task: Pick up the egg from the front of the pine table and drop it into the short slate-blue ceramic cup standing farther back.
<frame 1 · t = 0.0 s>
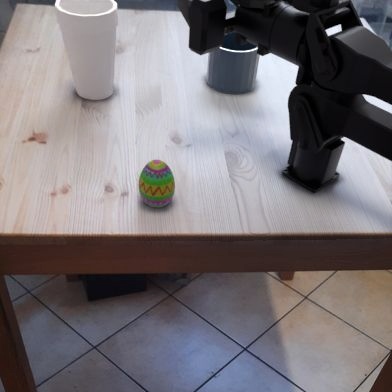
cup: (230, 82, 90), on the table
foam cup: (95, 92, 85), on the table
egg: (156, 201, 68), on the table
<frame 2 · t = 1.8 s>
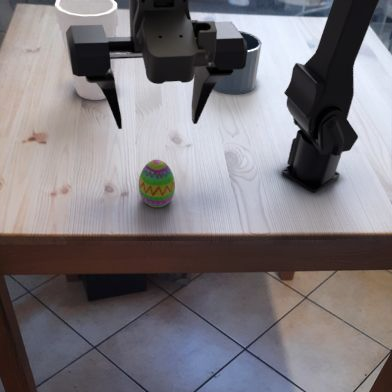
hand: (157, 124, 59), 11 cm above the table, tool pointing down, fingers open, 9 cm apart
nothing on the table moved.
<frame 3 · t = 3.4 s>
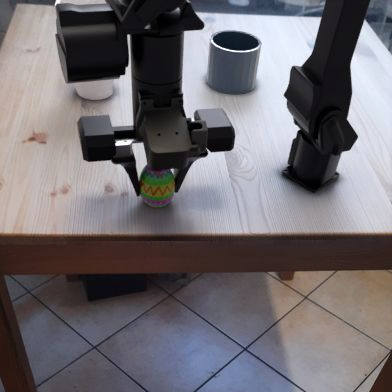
hand: (156, 192, 67), 1 cm above the table, tool pointing down, fingers closed on egg, 5 cm apart
egg: (156, 201, 68), on the table, touching gripper
everything else where it was.
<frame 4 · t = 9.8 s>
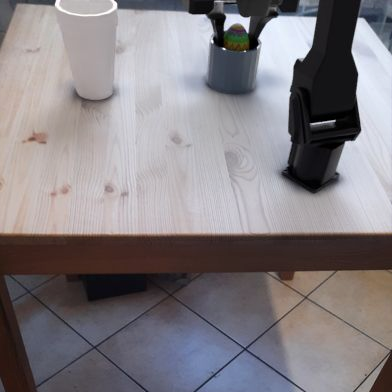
hand: (234, 54, 86), 5 cm above the table, tool pointing down, fingers closed on egg, 5 cm apart
egg: (233, 62, 87), point 3 cm above the table, touching gripper
everything else where it was.
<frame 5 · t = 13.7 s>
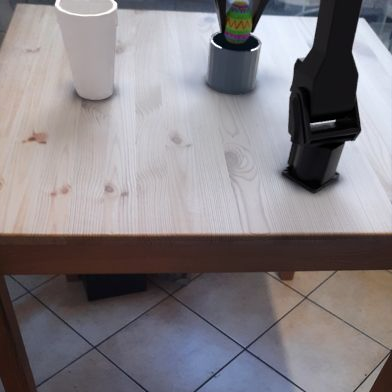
hand: (236, 32, 83), 8 cm above the table, tool pointing down, fingers closed on egg, 5 cm apart
egg: (235, 41, 85), point 7 cm above the table, touching gripper
everything else where it was.
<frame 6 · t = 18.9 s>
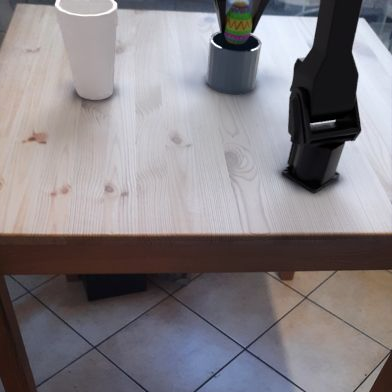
hand: (236, 33, 83), 8 cm above the table, tool pointing down, fingers closed on egg, 5 cm apart
egg: (235, 41, 85), point 7 cm above the table, touching gripper
everything else where it was.
when the fingers open (8 cm above the table, at t = 23.9 s): egg drops 7 cm, resting on cup.
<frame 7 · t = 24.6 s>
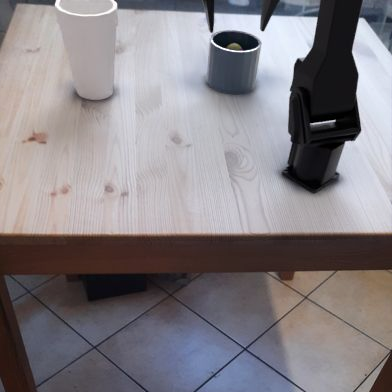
hand: (236, 31, 83), 8 cm above the table, tool pointing down, fingers open, 9 cm apart
egg: (230, 80, 90), resting on cup
everything else where it was.
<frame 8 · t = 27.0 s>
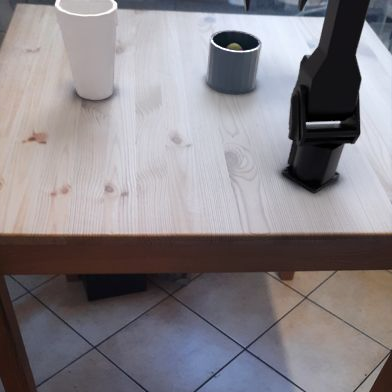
hand: (273, 10, 81), 12 cm above the table, tool pointing down, fingers open, 9 cm apart
nothing on the table moved.
at the end: egg 0.1 cm off-centre in the cup, point 0.3 cm above the cup's base; the gripper is holding nothing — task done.
